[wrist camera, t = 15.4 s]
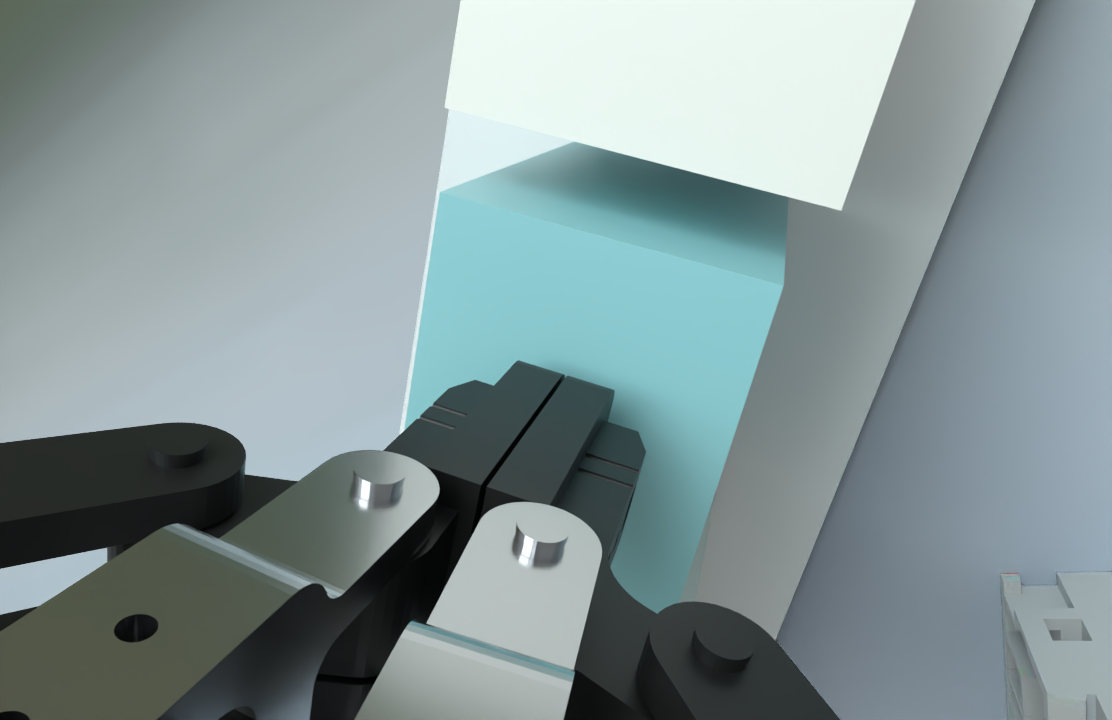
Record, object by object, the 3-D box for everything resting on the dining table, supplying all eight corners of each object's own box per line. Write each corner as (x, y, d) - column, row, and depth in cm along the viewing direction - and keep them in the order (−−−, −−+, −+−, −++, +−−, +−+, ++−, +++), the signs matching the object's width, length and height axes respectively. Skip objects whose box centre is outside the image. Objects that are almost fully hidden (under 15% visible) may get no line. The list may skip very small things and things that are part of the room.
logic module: (580, 139, 20) (439, 192, 12) (788, 191, 19) (784, 285, 11) (532, 365, 22) (388, 532, 14) (715, 421, 21) (669, 631, 13)
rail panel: (544, -375, 18) (325, -752, 9) (1137, -287, 16) (1514, -669, 7) (389, 583, 28) (218, 804, 20) (737, 712, 26) (709, 1019, 18)
